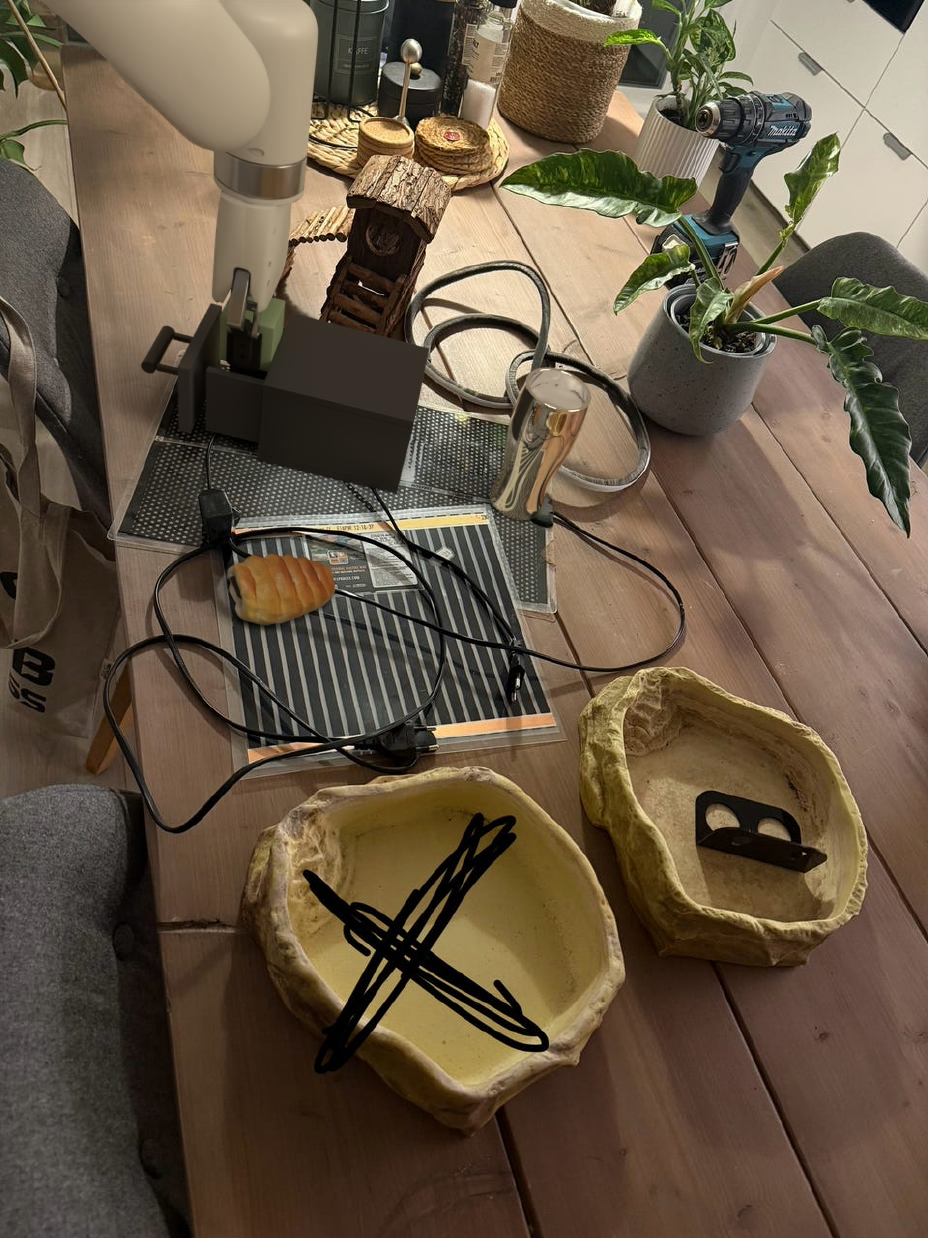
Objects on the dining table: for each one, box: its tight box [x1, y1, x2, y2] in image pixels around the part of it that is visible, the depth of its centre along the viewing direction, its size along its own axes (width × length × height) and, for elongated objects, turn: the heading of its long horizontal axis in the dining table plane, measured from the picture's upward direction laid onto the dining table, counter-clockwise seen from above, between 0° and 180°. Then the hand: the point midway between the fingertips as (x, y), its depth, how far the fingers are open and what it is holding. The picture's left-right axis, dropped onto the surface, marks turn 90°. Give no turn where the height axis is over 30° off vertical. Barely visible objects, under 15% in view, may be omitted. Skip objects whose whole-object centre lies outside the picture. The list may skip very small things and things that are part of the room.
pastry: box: [226, 553, 336, 626], centre depth 78 cm, size 9×7×4 cm
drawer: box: [140, 302, 286, 444], centre depth 90 cm, size 18×11×8 cm, turn 84°
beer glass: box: [488, 367, 592, 521], centre depth 90 cm, size 7×7×15 cm
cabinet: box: [257, 312, 430, 494], centre depth 91 cm, size 15×13×10 cm
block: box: [220, 296, 286, 372], centre depth 86 cm, size 5×5×5 cm
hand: (250, 347), depth 87 cm, fingers closed on block, 5 cm apart
